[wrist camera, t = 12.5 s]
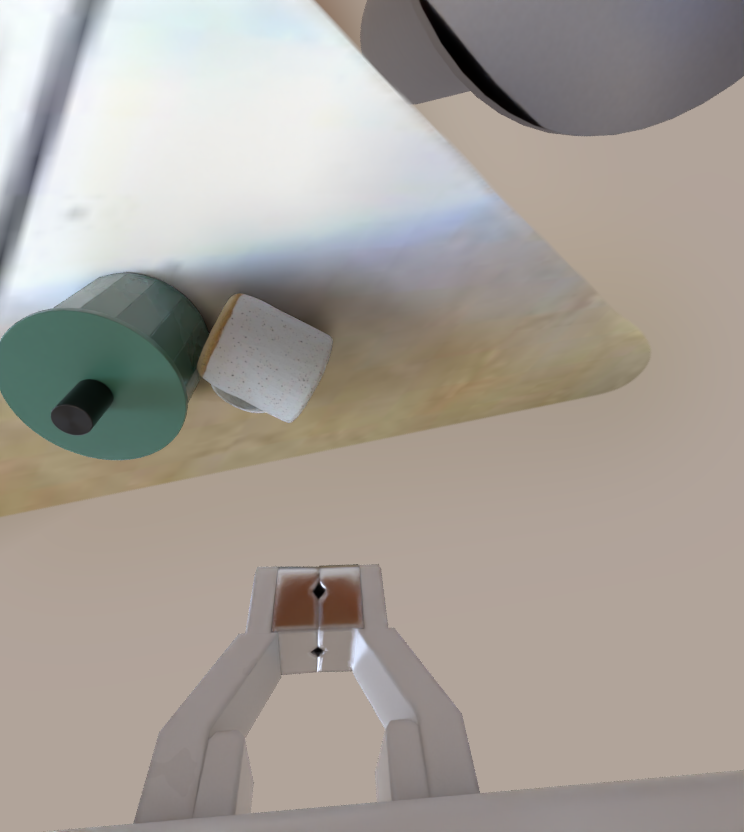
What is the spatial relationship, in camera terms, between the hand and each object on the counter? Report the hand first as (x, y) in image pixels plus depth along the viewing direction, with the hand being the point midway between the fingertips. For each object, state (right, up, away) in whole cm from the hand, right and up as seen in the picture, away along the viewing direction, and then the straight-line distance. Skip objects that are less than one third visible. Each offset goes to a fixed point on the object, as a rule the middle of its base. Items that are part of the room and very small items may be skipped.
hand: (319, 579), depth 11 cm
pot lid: (-16, +6, +17) cm, 24 cm away
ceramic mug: (-8, +10, +26) cm, 29 cm away
